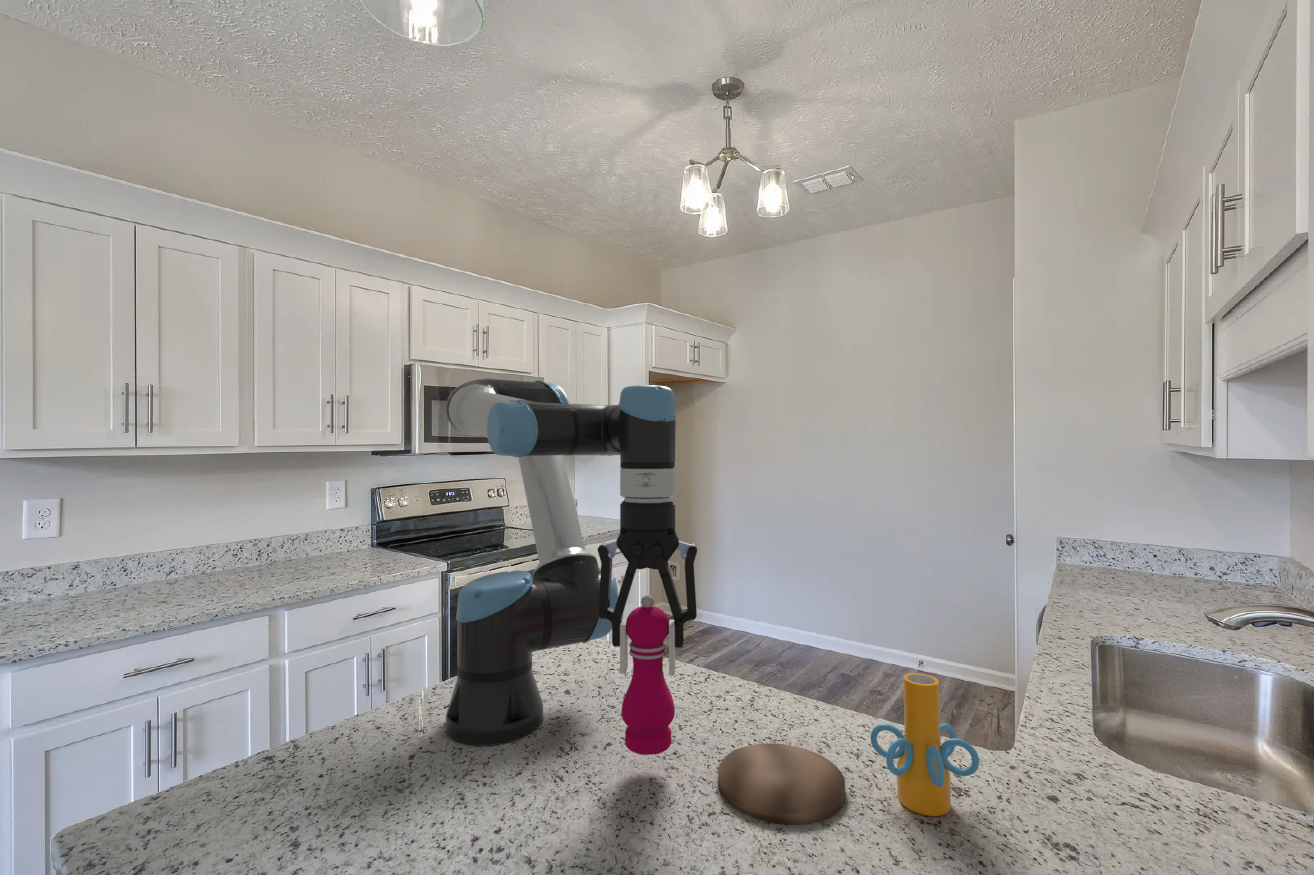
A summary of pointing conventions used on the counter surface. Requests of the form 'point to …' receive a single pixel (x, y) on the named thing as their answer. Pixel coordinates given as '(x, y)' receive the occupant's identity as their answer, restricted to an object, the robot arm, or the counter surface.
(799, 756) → the walnut board
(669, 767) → the counter surface
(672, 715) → the pepper mill
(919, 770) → the cylinder
